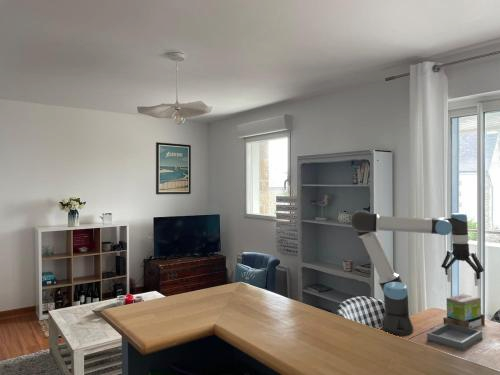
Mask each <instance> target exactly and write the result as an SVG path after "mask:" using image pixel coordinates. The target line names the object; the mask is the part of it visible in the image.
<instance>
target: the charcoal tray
mask: <svg viewBox="0 0 500 375" xmlns="http://www.w3.org/2000/svg"><path fill="white" fill-rule="evenodd" d="M482 339H483V331H482V330H479V329H475V328H467V327H463V326H459V325H455V324H451V323H446V324H444V323H443V325H441V326H438V327H437V328H435V329H432V330H431V331H429V332H426V341H428V342H431V343H435V344H438V345H440V346H445V347H448V348H451V349H456V350H458V351H461V352H464V351H465V350H466V349H468V348H470V347H471V346H473V345H474V344H476V343H478V342H479V341H481V340H482Z"/></svg>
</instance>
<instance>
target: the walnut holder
mask: <svg viewBox="0 0 500 375" xmlns="http://www.w3.org/2000/svg"><path fill="white" fill-rule="evenodd" d="M442 319H443V325H444V324H446V323H451V324H455V325H459V326H463V327H467V328H469V323H468V322H463V321H459V320H455V319H450V318H447V316H444V317H442ZM485 324H486V322H485V314H483V313H481V325H485Z"/></svg>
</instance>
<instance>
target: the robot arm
mask: <svg viewBox="0 0 500 375" xmlns="http://www.w3.org/2000/svg"><path fill="white" fill-rule="evenodd" d="M449 216H450V217H427V218H421V217H404V216H402V217H401V216H386V215H379V214H378V213H370V212H369V211H368V210H366V209H358V210H356V211H354V212H353V214H352V215H351V217H350V221H349V222H350V226H351V228H352V229H354V231H355V233H356V235H357V237H358V238H360V239H361V240H362V243H363V245H364V247H365V249H366V251H367V253H368V255H369V257H370V260H371V262H372V264H373V266H374V268H375V271H376V273H377V274H378V278H379V279H378V284H379V286H380V289H381V291H382V294H383V302H384V315H383V319H382V322H381V330H382V331H383V330H384V331H383V332H385V331H386V332H385V333H387V332H389V333H388V334H390V333H391V334H390V335H394V336H408V335H412V334H413V333H414V325H413V323H412V321H411V317H410V313H409V312H410V310H409V289H408V286H407V285H406V284H405V283H403V281H402V279H401V276H400V275H399V273H396V272H395V270H394V268H393V266H392V263H391V262H390V260H389V257H388V255H387V252H386V251H385V248H384V246H383V244H382V242H381V240H380V238H379V235H378V233H377V232H378V231H383V232H399V233H400V232H402V233H403V232H404V233H415V234H416V233H418V234H431V235H432V234H433V235H434V234H435V235H440V236H447V235H449V234H450V233H451V242H452V243H451V244H452V250H447V251H446V255H445V257H444V258H443V262H442V263H441V268H443V269H444V270H445V271H444V272H445V275H446V276H447V280H446V281H447V282H448V283H449V282H452V271H451V270H452V269H451V266H452V265H453V264H454V263H455V262H456V261H461V262H464V261H465V262H466V263H467V264H468V265H469V267H471V268H472V270H473V271H474V272H473V274H474V275H473V276H474V286H475V287H477V286H479V284H480V283H479V280H480V279H481V273H482V272H484V271H485V269H484V267H483V265H482V264H481V262H480V261H479V259H478V257H477V253H476V252H471V253H470V245H469V230H468V217H467V214H466V213H463V212H460V213H459V212H455V213H451V214H450V215H449ZM451 256H453V257H452V258H451ZM470 257H471V258H472V260H471V258H470ZM450 258H451V260H450ZM449 260H450V261H449ZM395 334H396V335H395Z"/></svg>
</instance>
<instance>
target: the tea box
mask: <svg viewBox="0 0 500 375" xmlns="http://www.w3.org/2000/svg"><path fill="white" fill-rule="evenodd" d="M481 304H482V303H481V297H478V296H473V295H468V294H465V293H461V294H458V295H453V296H451V297H447V298H446V318H450V319H455V320H459V321H463V322H468V323H469V328H471V329H475V328H478V327H481V326H482V324H481V314H482V306H481Z"/></svg>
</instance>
